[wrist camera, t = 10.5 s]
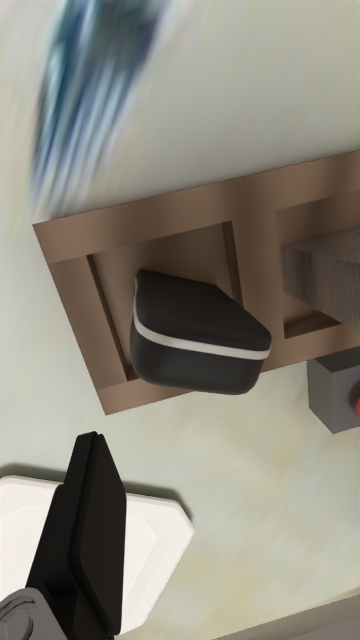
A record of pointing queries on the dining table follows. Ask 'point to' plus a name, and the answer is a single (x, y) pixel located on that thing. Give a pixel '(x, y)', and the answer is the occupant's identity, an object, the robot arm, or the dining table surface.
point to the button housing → (335, 388)
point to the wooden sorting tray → (217, 265)
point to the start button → (358, 409)
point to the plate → (140, 542)
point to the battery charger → (194, 336)
